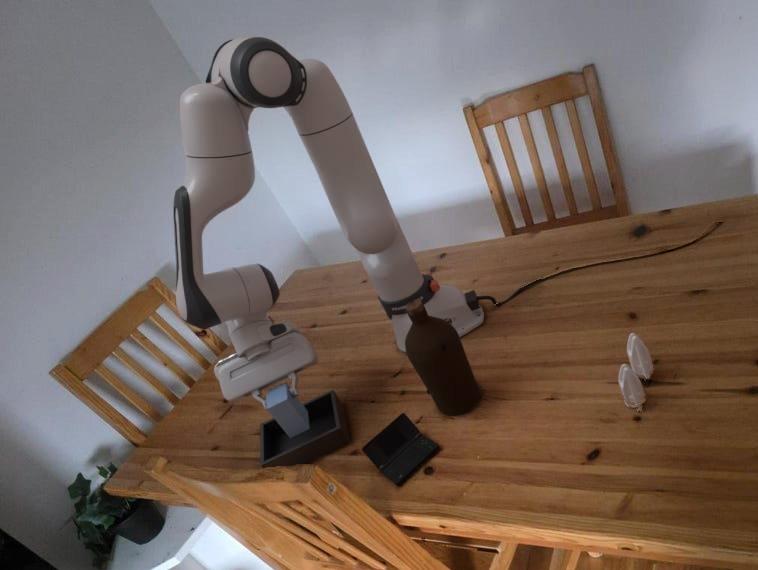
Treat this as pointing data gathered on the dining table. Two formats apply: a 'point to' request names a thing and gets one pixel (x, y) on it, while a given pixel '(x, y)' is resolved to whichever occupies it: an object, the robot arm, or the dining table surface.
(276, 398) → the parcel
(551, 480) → the dining table surface
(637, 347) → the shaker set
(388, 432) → the handheld gaming console
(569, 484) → the dining table surface
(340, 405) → the tote
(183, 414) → the dining table surface
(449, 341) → the olive oil
